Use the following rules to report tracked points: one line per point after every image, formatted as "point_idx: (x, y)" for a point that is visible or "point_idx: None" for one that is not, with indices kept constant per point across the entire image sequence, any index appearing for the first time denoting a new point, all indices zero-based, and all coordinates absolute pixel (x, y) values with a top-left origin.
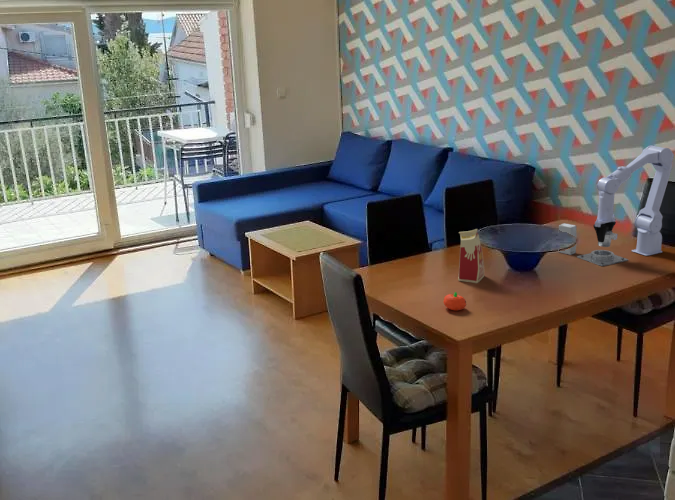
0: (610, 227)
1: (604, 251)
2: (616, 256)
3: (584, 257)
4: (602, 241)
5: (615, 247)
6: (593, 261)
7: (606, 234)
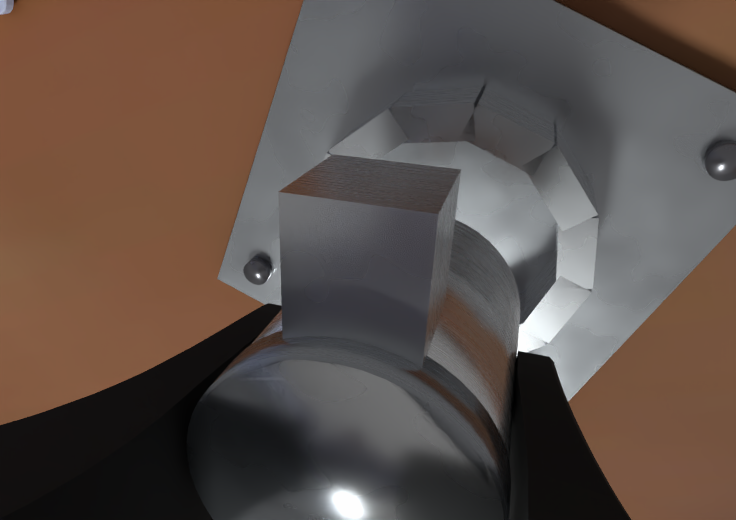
0: (130, 476)
1: None
2: (311, 89)
3: None
4: (557, 375)
5: (31, 200)
6: (661, 276)
7: (498, 438)
